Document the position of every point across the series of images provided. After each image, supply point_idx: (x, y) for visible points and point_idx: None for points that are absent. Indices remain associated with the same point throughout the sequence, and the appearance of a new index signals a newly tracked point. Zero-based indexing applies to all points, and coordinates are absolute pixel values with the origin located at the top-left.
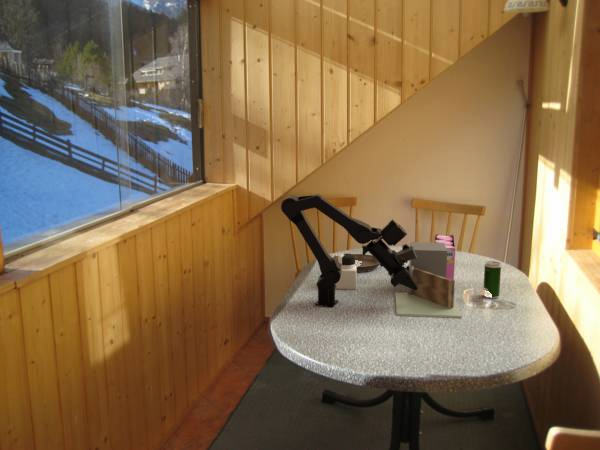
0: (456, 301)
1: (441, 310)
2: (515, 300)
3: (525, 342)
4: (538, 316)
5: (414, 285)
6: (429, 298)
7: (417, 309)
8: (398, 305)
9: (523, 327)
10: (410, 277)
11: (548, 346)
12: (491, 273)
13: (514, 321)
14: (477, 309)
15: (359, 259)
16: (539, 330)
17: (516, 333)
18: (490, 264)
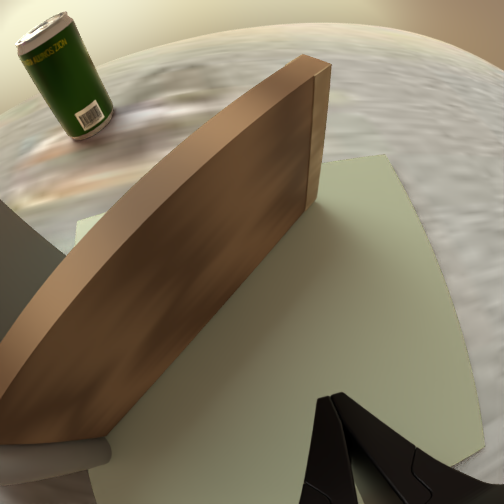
0: None
1: (357, 238)
2: (129, 75)
3: (446, 59)
4: (256, 31)
5: (374, 423)
6: (199, 326)
7: (397, 369)
8: (357, 493)
9: (358, 47)
10: (432, 486)
11: (434, 40)
12: (76, 44)
13: (323, 55)
14: None
15: None
16: (358, 33)
17: (409, 60)
18: (57, 20)
